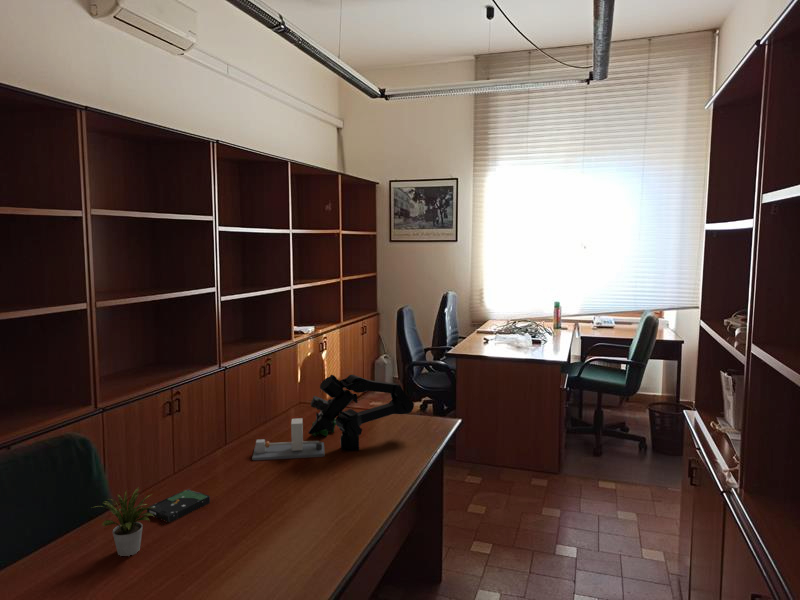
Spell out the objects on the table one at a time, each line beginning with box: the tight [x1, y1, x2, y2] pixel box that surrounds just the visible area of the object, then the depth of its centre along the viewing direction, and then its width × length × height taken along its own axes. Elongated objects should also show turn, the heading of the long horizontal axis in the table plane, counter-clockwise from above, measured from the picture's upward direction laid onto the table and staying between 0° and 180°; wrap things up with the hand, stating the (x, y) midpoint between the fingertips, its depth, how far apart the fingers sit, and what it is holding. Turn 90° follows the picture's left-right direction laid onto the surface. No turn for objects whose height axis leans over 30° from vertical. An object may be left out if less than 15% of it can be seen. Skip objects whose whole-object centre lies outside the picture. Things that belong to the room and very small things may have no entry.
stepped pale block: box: [290, 417, 304, 451], centre depth 216 cm, size 4×6×10 cm, turn 9°
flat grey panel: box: [251, 439, 326, 461], centre depth 216 cm, size 26×12×5 cm, turn 99°
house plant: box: [91, 487, 155, 557], centre depth 147 cm, size 14×14×16 cm
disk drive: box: [146, 488, 211, 523], centre depth 172 cm, size 10×3×15 cm
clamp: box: [311, 418, 337, 437], centre depth 237 cm, size 12×6×9 cm, turn 148°
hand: (309, 433), depth 217 cm, fingers closed
